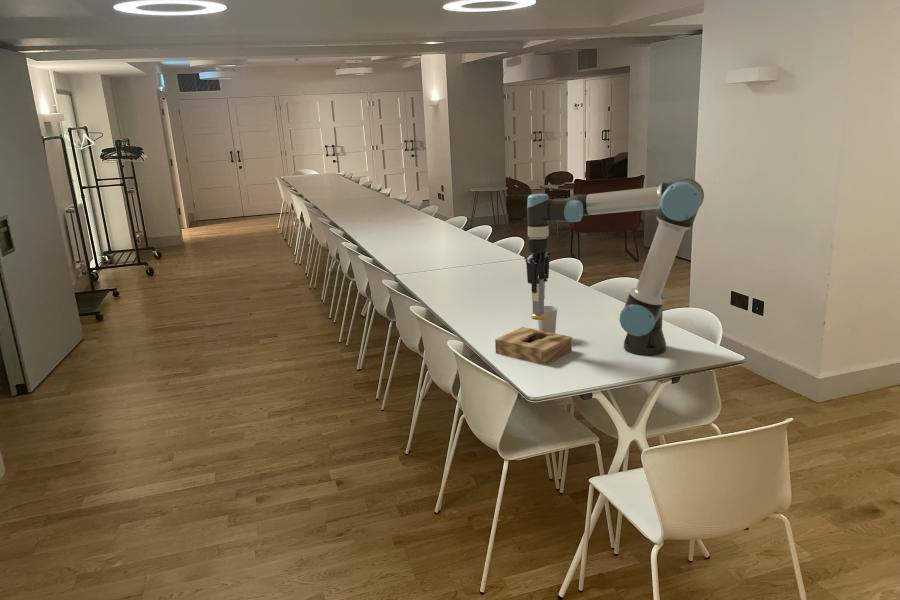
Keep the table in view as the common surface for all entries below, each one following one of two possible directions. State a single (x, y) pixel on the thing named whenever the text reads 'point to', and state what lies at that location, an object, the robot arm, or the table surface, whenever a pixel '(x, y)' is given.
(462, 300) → the table surface
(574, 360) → the table surface
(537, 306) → the stud
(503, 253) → the table surface
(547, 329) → the cup
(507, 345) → the keyhole box
